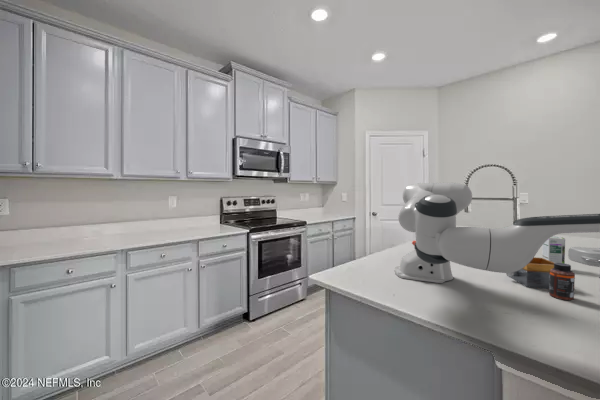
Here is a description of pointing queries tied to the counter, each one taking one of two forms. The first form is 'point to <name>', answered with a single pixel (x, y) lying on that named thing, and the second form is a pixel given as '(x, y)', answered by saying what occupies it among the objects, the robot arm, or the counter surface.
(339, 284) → the counter surface
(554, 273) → the supplement bottle
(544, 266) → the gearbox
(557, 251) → the syrup box
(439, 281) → the robot arm
